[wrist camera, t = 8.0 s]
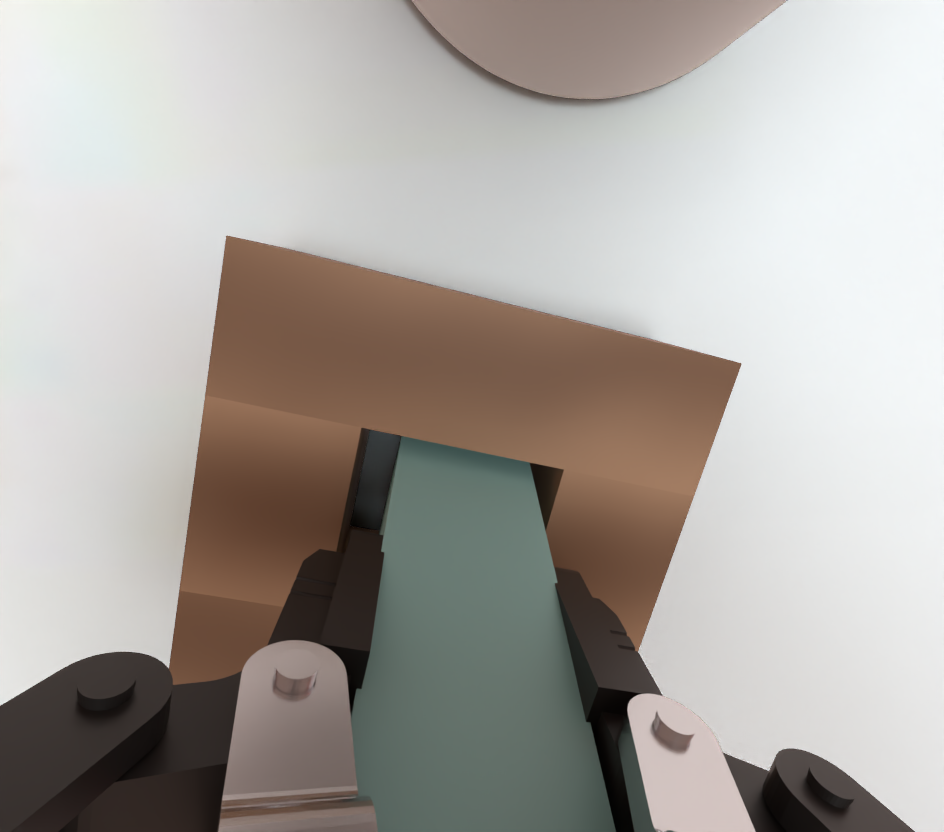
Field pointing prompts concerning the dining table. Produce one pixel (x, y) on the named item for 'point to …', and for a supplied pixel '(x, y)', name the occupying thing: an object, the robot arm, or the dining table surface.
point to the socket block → (423, 434)
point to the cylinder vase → (592, 39)
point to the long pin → (471, 660)
